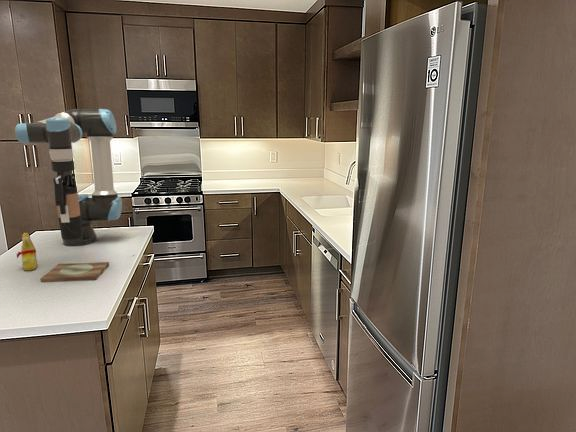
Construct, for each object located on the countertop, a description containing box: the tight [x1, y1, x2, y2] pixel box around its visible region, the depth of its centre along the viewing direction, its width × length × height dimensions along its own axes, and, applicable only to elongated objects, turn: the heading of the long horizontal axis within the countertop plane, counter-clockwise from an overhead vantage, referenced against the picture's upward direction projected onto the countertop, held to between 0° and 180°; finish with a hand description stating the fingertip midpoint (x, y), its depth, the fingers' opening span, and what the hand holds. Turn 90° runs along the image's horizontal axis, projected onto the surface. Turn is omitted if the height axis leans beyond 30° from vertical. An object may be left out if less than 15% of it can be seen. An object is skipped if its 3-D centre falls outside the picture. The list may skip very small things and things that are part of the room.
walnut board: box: [40, 261, 110, 283], centre depth 163 cm, size 16×20×2 cm
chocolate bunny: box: [16, 232, 38, 272], centre depth 168 cm, size 7×11×15 cm, turn 29°
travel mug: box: [56, 185, 82, 240], centre depth 157 cm, size 8×8×20 cm
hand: (70, 219), depth 158 cm, fingers closed on travel mug, 8 cm apart
